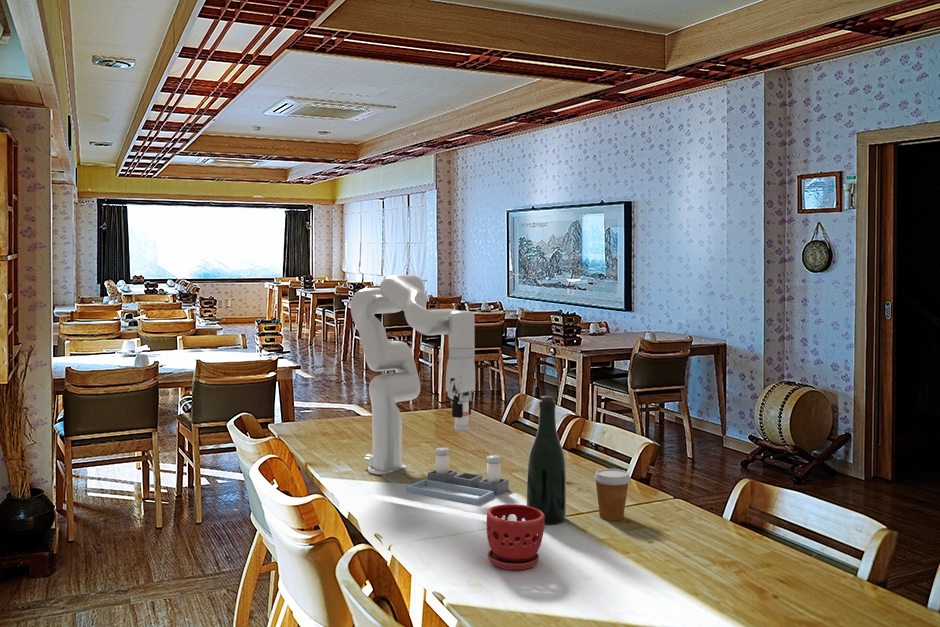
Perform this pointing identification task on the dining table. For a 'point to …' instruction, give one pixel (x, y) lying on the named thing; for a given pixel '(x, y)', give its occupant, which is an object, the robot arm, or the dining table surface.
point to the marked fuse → (463, 422)
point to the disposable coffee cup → (611, 492)
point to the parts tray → (416, 489)
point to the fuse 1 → (442, 461)
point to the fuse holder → (470, 481)
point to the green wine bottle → (547, 467)
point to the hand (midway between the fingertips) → (461, 415)
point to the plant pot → (514, 536)
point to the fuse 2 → (494, 469)
